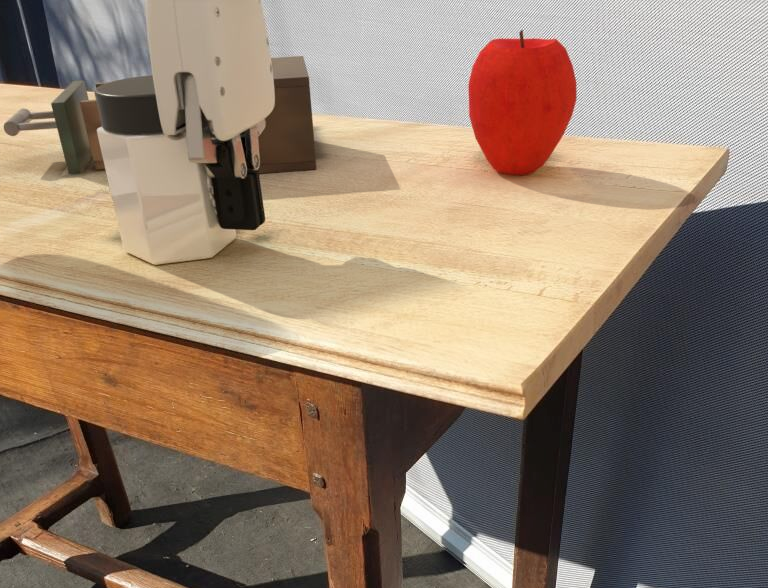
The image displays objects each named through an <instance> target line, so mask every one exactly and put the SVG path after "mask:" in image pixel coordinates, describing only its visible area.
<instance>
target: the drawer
mask: <svg viewBox="0 0 768 588" xmlns="http://www.w3.org/2000/svg"><path fill="white" fill-rule="evenodd" d="M109 82H110V81H104V82H96V83H95V89H96V88H97V87H99V86H101V85H103V84H106V83H109ZM50 106H51V109H52V110H50V111H49V110H48V111H34V112H31V111H30V110H29V109H27V108H20V109H18V110H17V112H15V113H14V114H13V115H12V116H11V117H9V119H8V120H6V122H4V124H3V131H4V132H5V134H6V135H8V136H10V137H15V136H17V135H18V134H19V133H21V132H22V131H24V132H25V131H38V130H50V129H51V130H52V129H53V130H54V129H56V130H57V134H58V137H59V141H60V145H61V149H62V154H63V158H64V162H65V165H66V169H67V173H68V175H76V174H77V175H79V174H82V173H83V171H84V169H85V168H86V166H87V165H88V164H89V162H90V160H91V158H92V161H93V165H94V170H96V171H101V170H106V169H105V165H104V161H103V156H102V152H101V147H100V143H99V139H98V134H97V129H98V128H99V127H102V125H101V120H100V116H99V111H98V107H97V102H96V99H89V95H88V90H87V86H86V82H85V80H73V81H72V82H71V83H70V84H69V85H68V86H67V87H66V88H65V89H64V90H62V92H61V93H60V94H59V95H58V96H56V98H55V99H53V100H52V102H51V103H50ZM49 119H54V120H49ZM32 120H35V122H32ZM36 120H46V121H36ZM47 120H49V121H47Z"/></svg>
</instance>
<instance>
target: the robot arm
mask: <svg viewBox="0 0 768 588" xmlns="http://www.w3.org/2000/svg"><path fill="white" fill-rule="evenodd" d="M144 7H145V22H146V33H147V42H148V50H149V59H150V66H151V74H152V75H153V81H154V87H155V94H156V100H157V106H158V112H159V117H160V122H161V127H162V130H163V133H164V135H165V136H166V137H167V138H168V139H170V140H180V139H183V138H185V134H184V135H182V134H181V133H180V132H182V131H183V130H185V129H186V136H187V151H188V159H189V161H190V162H191V163H204V164H205V168H206V172H207V175H208V177H209V178H211V180H212V186H213V192H214V198H215V203H216V209H217V215H218V221H219V225H220V227H221V228H223V229H235V230H236V231H239V230H240V231H256V230H257V229H258V228H259V227H260V226H262V225H263V224H265V222H266V215H265V207H264V200H263V193H262V185H261V179H260V174H259V171H253V170H257V169H258V168H259V166H260V155H259V142H258V139H259V136H260V134H261V133H262V131H263V130H264V128H265V125H266V122H265V118H266V117H267V116H268V115H269V114H270V113H271V112H272V110H273V108H274V105H275V92H274V80H273V71H272V62H271V58H272V57H271V56H272V55H271V50H270V43H269V37H268V30H267V25H266V20H265V19H266V18H265V13H264V9H263V4H262V0H144ZM184 124H186V125H185V126H182V125H184ZM210 128H213V130H214V131H210ZM180 135H182V136H180ZM179 136H180V137H179Z"/></svg>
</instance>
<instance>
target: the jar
mask: <svg viewBox="0 0 768 588" xmlns="http://www.w3.org/2000/svg"><path fill="white" fill-rule="evenodd" d="M108 82H109V83H106V84H103V85H101V86H99V87H97V88H96V87H95V89H94V92H93V93H94V97H95V100H96V102H97V107H98V111H99V116H100V120H101V125H102V127H99V128H98V129H97V134H98V139H99V143H100V147H101V152H102V156H103V161H104V165H105V169H104V170H105V173H106V178H107V182H108V187H109V191H110V195H111V200H112V204H113V208H114V213H115V217H116V221H117V226H118V230H119V235H120V239H121V244H122V249H123V250H124V252H125V253H127V254H129V255H132V256H134V257H136V258H138V259H140V260H143V261H145V262H148V263H149V264H151V265H154V266H158V265H166V264H174V263H182V262H189V261H190V262H191V261H197V260H206V259H211V258H214V257H215V256H216V255H217V254H218V253H220V252H221V251H222V250H223V249H225V248H226V247H227V246H228V245H230V244H231V243H232V242H234V240H236V239H237V230H235V229H223V228H221V227H220V225H219V221H218V215H217V209H216V203H215V198H214V192H213V186H212V180H211V178H209V177H208V175H207V172H206V168H205V164H204V163H191V162H190V161H189V159H188V151H187V136H186V129H185V130H183V131H182V132H180V133H181V134H182V135H184V134H185V138H183V139H180V140H170V139H168V138H167V137H166V136H165V135H164V133H163V130H162V127H161V122H160V117H159V112H158V106H157V100H156V94H155V87H154V81H153V74H152V75H142V76H134V77H127V78H122V79H118V80H113V81H108ZM185 125H186V124H184V125H182V126H185ZM210 131H214V130H213V128H210ZM182 135H180V136H182ZM180 136H179V137H180Z"/></svg>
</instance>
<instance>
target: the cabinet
mask: <svg viewBox="0 0 768 588" xmlns="http://www.w3.org/2000/svg"><path fill="white" fill-rule="evenodd" d="M271 62H272V71H273V80H274V92H275V105H274V108H273V110H272V112H271V113H270V114H269V115H268V116H267V117H266V118H265V122H266V125H265V128H264V130H263V131H262V133H261V134H260V136H259V139H258V142H259V155H260V166H259V168H258V169H257V170H253V171H259V175H260V174H272V173H273V174H274V173H283V172H284V173H285V172H299V171H300V172H301V171H311V170H317V156H316V145H315V143H316V142H315V133H314V131H315V130H314V121H313V109H312V98H311V97H312V96H311V86H310V85H311V84H310V76H309V73H308V69H307V64H306V61H305V58H304V56H303V55H297V56H296V55H295V56H284V57H283V56H281V57H279V56H278V57H271Z"/></svg>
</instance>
